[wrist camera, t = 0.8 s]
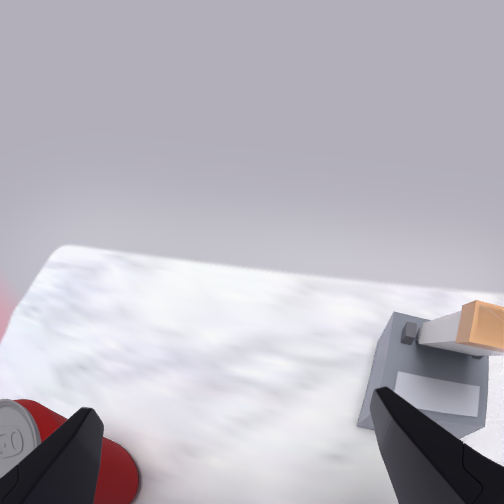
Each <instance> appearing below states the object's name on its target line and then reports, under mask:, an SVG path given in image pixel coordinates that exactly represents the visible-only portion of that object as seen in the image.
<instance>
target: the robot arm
mask: <svg viewBox="0 0 504 504" xmlns="http://www.w3.org/2000/svg"><path fill="white" fill-rule="evenodd" d="M370 413H371V417H372V421H373V425H374V429H375V433H376V437H377V441H378V446H379V449H380V452H381V455H382V458H383V461H384V463H385V466H386V469H387V471H388V474H389V477H390V480H391V482H392V485H393V488H394V491H395V494H396V496H397V499H398V502H399V504H504V467H503V466H501V465H499V464H497V463H495V462H494V461H492V460H490V459H488V458H486V457H485V456H483V455H481V454H480V453H478V452H477V451H475V450H474V449H472V448H471V447H469V446H468V445H467V444H465V443H464V444H463V442H462V441H461V440H459V439H458V438H457V437H455V436H454V435H453V434H451V433H450V432H448V431H447V430H446V429H444V428H443V427H441V426H440V425H439V424H437V423H436V422H435V421H433V420H432V419H430V418H429V417H428V416H426V415H425V414H424V413H422V412H421V411H420V410H418V409H417V408H415V407H414V406H413V405H411V404H410V403H409V402H407V401H406V400H405V399H403V398H402V397H401V396H399V395H398V394H397V393H395V392H394V391H393V390H391V389H390V388H389V387H387V386H383V387H379V388H376V389H374V391H373V394H372V398H371V402H370ZM103 432H104V425H103V422H102V421H101V419H100V418H99V416H98V415H97V413H96V412H95V410H94V409H93V408H88V407H82V408H80V409H79V410H78V411H77V412H76V413H75V414H73V415H72V416H71V417H70V418H69V419H68V420H67V421H66V422H64V423H63V424H62V425H61V426H60V427H59V428H58V429H57V430H55V431H54V432H53V433H52V434H51V435H50V436H49V437H47V438H46V439H45V440H44V441H43V442H42V443H41V444H40V445H38V446H37V447H36V448H35V449H34V450H33V451H32V452H30V453H29V454H28V455H27V456H26V457H25V458H24V459H23V460H21V461H20V462H19V463H18V464H17V465H16V466H14V467H13V468H12V469H11V470H10V471H9V472H7V473H6V474H5V475H4V476H3V477H1V478H0V504H94V497H95V491H96V486H97V480H98V475H99V469H100V463H101V452H102V441H103Z"/></svg>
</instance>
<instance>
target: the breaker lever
mask: <svg viewBox="0 0 504 504" xmlns="http://www.w3.org/2000/svg"><path fill="white" fill-rule="evenodd" d="M416 340H417V341H419V343H418V344H422V345H426V346H431V347H436V348H440V349H445V350H450V351H455V352H460V353H464V354H470V355H475V356H500V355H504V307H501V306H497V305H493V304H489V303H485V302H481V301H478V300H475V301H473V302H470V303H468V304H465V305H463V306H462V311H459V312H456V313H453V314H450V315H447V316H444V317H441V318H438V319H434V320H431V321H428V322H424V323H423V326H422V327H419V329H418V331H417V335H416Z"/></svg>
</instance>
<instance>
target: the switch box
mask: <svg viewBox="0 0 504 504" xmlns="http://www.w3.org/2000/svg"><path fill="white" fill-rule="evenodd" d="M428 321H431V320H427V319H423V318H418V317H414V316H410V315H406V314H402V313H398V312H393V314H392V316H391V318H390V320H389V322H388V324H387V326H386V328H385V329H384V331H383V333H382V335H381V337H380V339H379V341H378V342H377V347H376V352H375V357H374V362H373V366H372V370H371V375H370V379H369V383H368V387H367V391H366V395H365V399H364V402H363V406H362V410H361V413H360V417H359V420H358V423H357V426H359V427H363V428H368V429H373V430H375V429H374V425H373V421H372V417H371V413H370V402H371V398H372V394H373V391H374V389H376V388H379V387H383V386H387V387H389V388H390V389H391V390H393V391H394V392H395V393H397V394H398V395H399V396H401V397H402V398H403V399H405V400H406V401H407V402H409V403H410V404H411V405H413V406H414V407H415V408H417V409H418V410H420V411H421V412H422V413H424V414H425V415H426V416H428V417H429V418H430V419H432V420H433V421H435V422H436V423H437V424H439V425H440V426H441V427H443V428H444V429H446V430H447V431H448V432H450V433H451V434H453V435H454V436H455V437H457V438H458V439H460V438H462V437H464V436H466V435H469V434H471V433H473V432H475V431H477V430H479V429H481V428H483V427H485V420H486V410H487V396H488V370H489V356H475V355H470V354H464V353H460V352H455V351H450V350H445V349H440V348H436V347H431V346H426V345H422V344H418V343H419V341H417V340H416V335H417V331H418V329H419V327H422V326H423V323H424V322H428Z"/></svg>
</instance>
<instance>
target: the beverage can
mask: <svg viewBox="0 0 504 504" xmlns="http://www.w3.org/2000/svg"><path fill="white" fill-rule="evenodd" d="M67 420H68V419H67V418H65V417H63V416H61V415H59V414H57V413H55V412H54V411H52V410H50V409H48V408H46V407H45V406H43V405H41V404H39V403H37V402H35V401H32V400H27V399H19V400H9V399H1V400H0V478H1V477H3V476H4V475H5V474H6V473H7V472H9V471H10V470H11V469H12V468H13V467H14V466H16V465H17V464H18V463H19V462H20V461H21V460H23V459H24V458H25V457H26V456H27V455H28V454H29V453H30V452H32V451H33V450H34V449H35V448H36V447H37V446H38V445H40V444H41V443H42V442H43V441H44V440H45V439H46V438H47V437H49V436H50V435H51V434H52V433H53V432H54V431H55V430H57V429H58V428H59V427H60V426H61V425H62V424H63V423H64V422H66V421H67ZM137 488H138V473H137V469H136V466H135V463H134V461H133V460H132V458H131V456H130V455H129V454H128V452H127V451H126V450H125V449H124V448H123V447H121V446H120V445H119V444H117V443H115V442H113V441H111V440H109V439H107V438H105V437H103V441H102V452H101V463H100V469H99V475H98V480H97V486H96V491H95V497H94V504H129V503H130V502H131V501H132V500H133V498H134V497H135V494H136V492H137Z"/></svg>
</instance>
